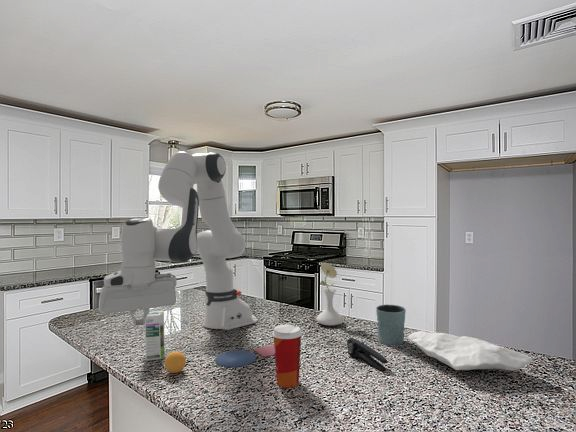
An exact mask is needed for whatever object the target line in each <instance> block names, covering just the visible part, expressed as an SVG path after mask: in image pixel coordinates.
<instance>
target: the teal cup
mask: <svg viewBox="0 0 576 432" xmlns="http://www.w3.org/2000/svg"><path fill="white" fill-rule="evenodd" d="M375 309H376V316H377V317H376V318H377V319H376V320H377V334H378V335H377V336H378V341H379V343H380V344H382V345H385V346H391V347H394V346H395V347H396V346H401V345H403V344H404V337H405V333H404V331H405V322H406V308H405V307H404V306H402V305H397V304H379V305H378V306H376V308H375Z"/></svg>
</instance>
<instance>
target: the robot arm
mask: <svg viewBox="0 0 576 432" xmlns="http://www.w3.org/2000/svg"><path fill="white" fill-rule="evenodd" d="M226 170H227V169H226V162H225V159H224V157H223V156H222V155H221V154H220V153H218V152H208V153H204V152H203V153H193V154H191V153H189V152H186V151H177V152H174V153H173V154H172V155H171V157H170V158H169V159H168V161H167V163H166V164H165V166H164V167H163V170H162V172H161V175H160V178H159V181H158V187H157V188H158V191H159V194H160V195H161V196H162V198H163V199H164V200H165V201H167V202H168V203H170V204H172V205H173V206H177V207H180V208H182V215H181V216H182V217H181V224H180V225H179V226H178V227H176V228H158V227H155V225H154V224H153V220H152V218H150V217H137V218H129V219H128V220H126V221H125V222H124V223H123V226H122V231H121V242H120V247H121V248H120V251H121V254H122V262H121V270H118V271H116V272H113V273H110V274H107V275H105V276H104V278H103V284H104V285H103V286H102V288H101V289H100V293H99V299H98V312H99V313H100V314H102V315H107V314H115V313H123V312H128V314H129V315H130V317H131V319H132V323H133V326H134V327H136V326H137V327H138V326H145V319H146V317H147V315H148V313H149V312H150V309H155V308H161V307H162V308H163V307H169V306H170V307H171V306H174V305H176V303H177V293H176V286H177V277H176V275H175V274H172V273H170V272H169V273H156V261H159V262H160V261H164V262H168V261H170V262H171V261H172V262H175V263H176V262H177V263H187V262H188V261H189V260H191V259H192V258H193V257H194V256H195V255H196V253H198V255H199V256H200V259H201V261H202V264H203V266H204V271H205V281H206V282H205V284H206V286H205V288H206V289H205V294H204V299H205V300H204V301H205V303H204V304H205V314H204V318H203V319H204V320H203V322H202V326H203V327H205V328H208V329H212V330H213V329H215V330H218V329H219V330H225V331H228V330H233V329H237V328H240V327H244V326H248V325H252V324H256V323H258V318H257V317H256V316H255V315H254V314H253V313H252V312H253V311H252V309H251V306H250V305H249V304H248V303H246V302H245V301H243V300H242V299H240V298H239V297H240V296H241V295H242V291H241V290H238V289H235V288H234V272H233V269H232V268H231V266H230V265H229V264H228V262H227V260H226V258H227V259H231V258H236V257H240V256H242V255H243V253H244V252H245V251H246V247H247V246H246V245H247V243H246V238H245V237H244V235H243V234H242V233H241V232H239V230H238V229H236V226H235V225H234V223H233V222H232V219H231V216H230V214H229V209H228V205H227V203H228V202H227V197H226V192H225V188H224V183H223V181H222V179H223V178H224V176H225V174H226ZM194 185H196V189H195V188H194ZM199 213H200V218H201V220H202V221H203V222H204V223H205V224H206V225H207V226H208V228H209V229H207V230H202V231H199V232H197V231H198V223H199V222H198V220H199ZM238 296H239V297H238ZM138 310H139V311H140V310H142V311H143V314H142V316H141V317H136V316H135V314H136V311H138Z"/></svg>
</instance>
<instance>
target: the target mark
mask: <svg viewBox="0 0 576 432" xmlns="http://www.w3.org/2000/svg"><path fill="white" fill-rule="evenodd" d="M256 360H257V355H256V354H255V353H254V352H252V351H250V350H249V351H248V350H244V349H243V350H242V349H235V350H234V349H233V350H228V351H225V352H221V353H220V354H218V355H216V357H215V359H214V361H215V363H216V364H217V365H218V366H221V367H226V368H237V367H240V368H241V367H245V366H248V365H251V364H252V363H253V362H255V361H256Z"/></svg>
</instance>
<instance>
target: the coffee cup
mask: <svg viewBox="0 0 576 432" xmlns="http://www.w3.org/2000/svg"><path fill="white" fill-rule="evenodd" d="M271 335H272V336H273V345H274V350H275V355H274V360H275V363H274V364H275V375H276V384H277V385H278V387H280V388H284V389H291V388H295V387H297V386H298V384H299V380H300V366H301V364H300V362H301V345H302V344H301V342H302V341H301V340H302V335H303V331H302V329H301V327H300V326H296V325H293V324H280V325H277V326H275V327H274V329H273V331H272V334H271Z"/></svg>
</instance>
